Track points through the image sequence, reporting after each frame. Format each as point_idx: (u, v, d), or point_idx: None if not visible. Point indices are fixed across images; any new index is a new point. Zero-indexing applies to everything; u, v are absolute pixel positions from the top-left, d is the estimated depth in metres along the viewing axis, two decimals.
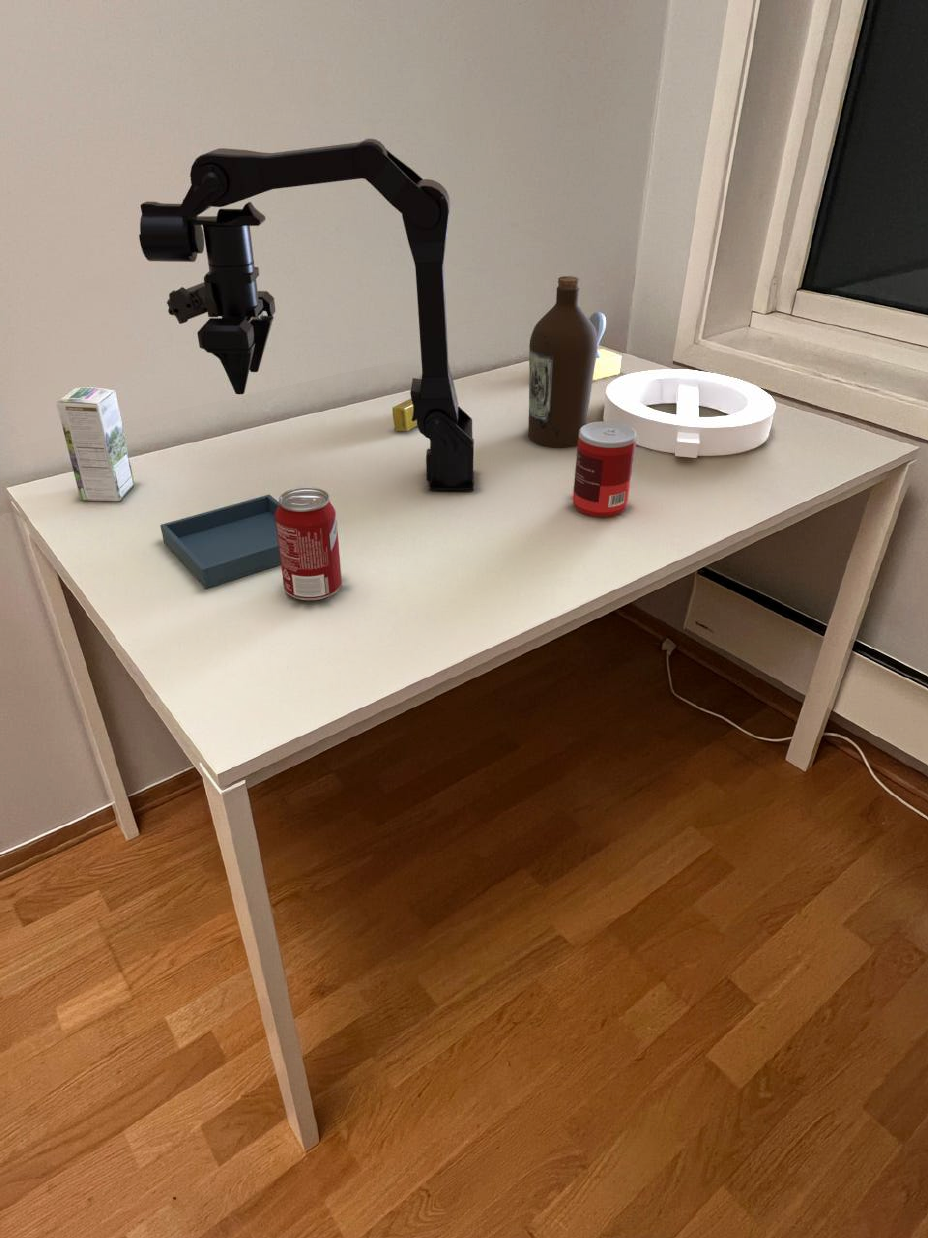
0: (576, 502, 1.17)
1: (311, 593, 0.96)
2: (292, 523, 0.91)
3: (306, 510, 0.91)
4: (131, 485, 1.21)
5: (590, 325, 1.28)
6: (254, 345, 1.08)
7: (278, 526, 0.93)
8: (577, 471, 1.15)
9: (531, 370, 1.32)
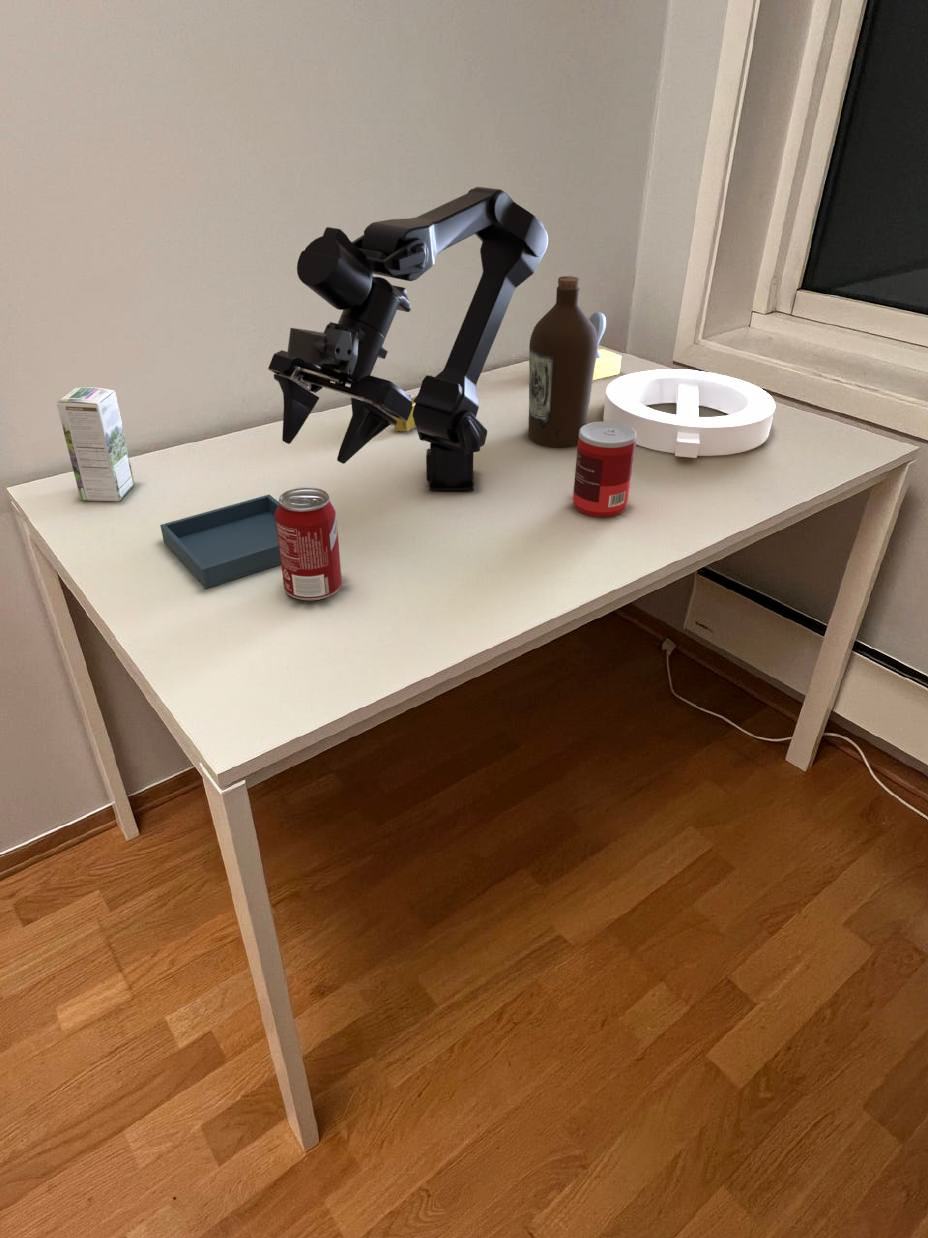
0: (576, 502, 1.17)
1: (311, 593, 0.96)
2: (292, 523, 0.91)
3: (306, 510, 0.91)
4: (131, 485, 1.21)
5: (590, 325, 1.28)
6: None
7: (278, 526, 0.93)
8: (577, 471, 1.15)
9: (531, 370, 1.32)
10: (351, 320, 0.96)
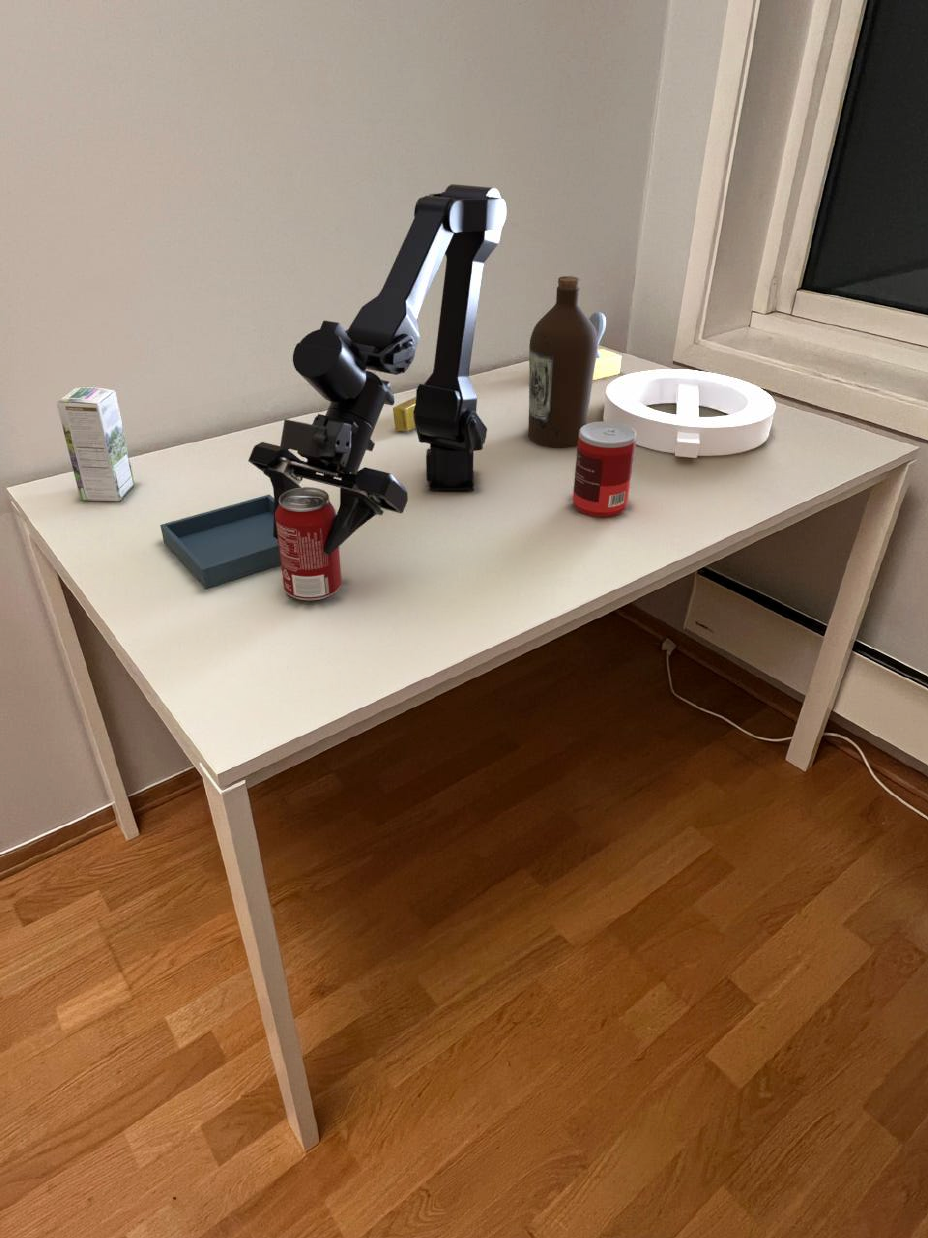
0: (576, 502, 1.17)
1: (311, 593, 0.96)
2: (291, 524, 0.91)
3: (306, 510, 0.91)
4: (131, 485, 1.21)
5: (590, 325, 1.28)
6: None
7: (278, 526, 0.93)
8: (577, 471, 1.15)
9: (531, 370, 1.32)
10: (342, 412, 0.94)
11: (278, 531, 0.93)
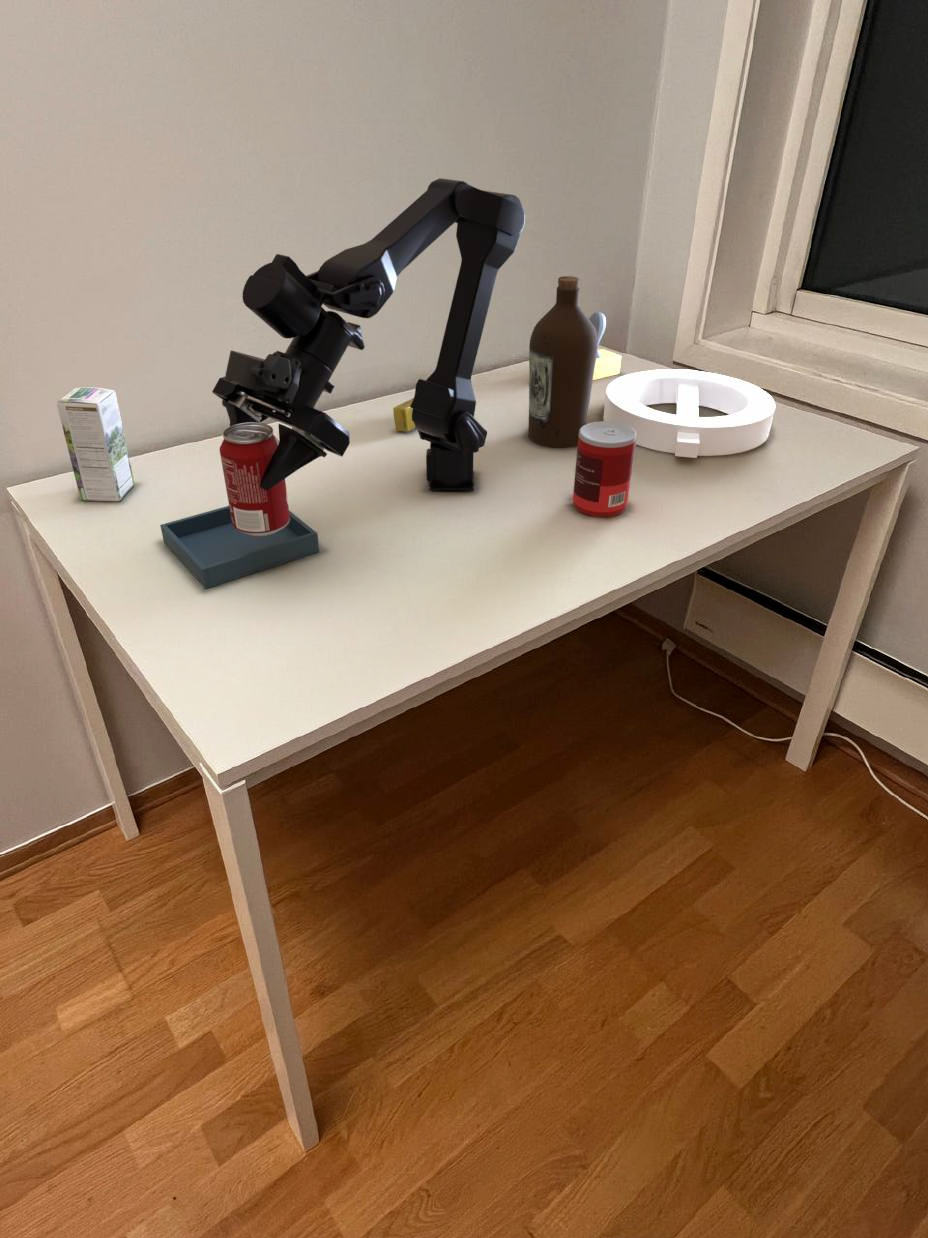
0: (576, 502, 1.17)
1: (250, 528, 0.97)
2: (229, 455, 0.92)
3: (243, 442, 0.92)
4: (131, 485, 1.21)
5: (590, 325, 1.28)
6: None
7: None
8: (577, 471, 1.15)
9: (531, 370, 1.32)
10: (297, 350, 0.94)
11: None
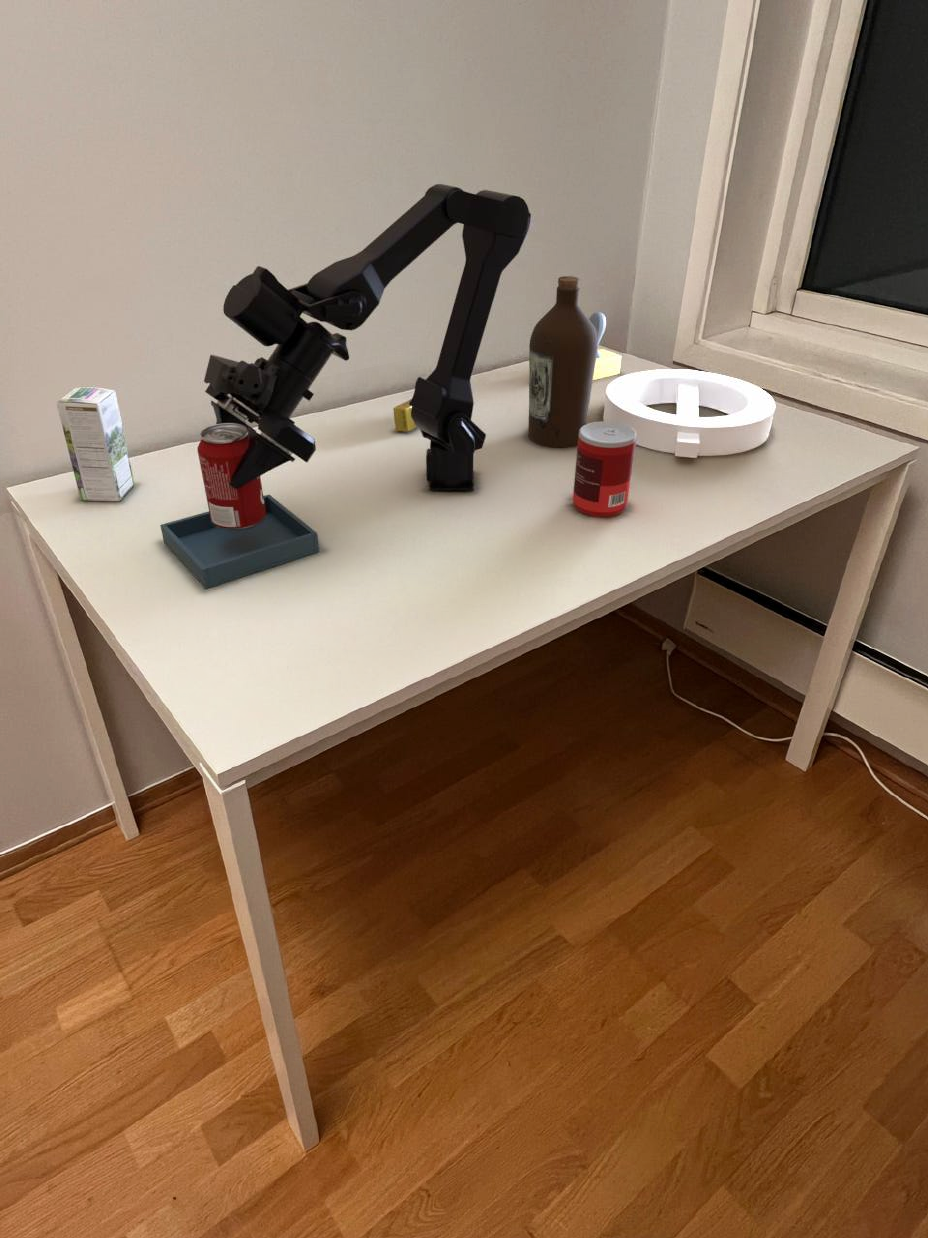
0: (576, 502, 1.17)
1: (222, 523, 1.02)
2: (202, 452, 0.98)
3: (214, 442, 0.97)
4: (131, 485, 1.21)
5: (590, 325, 1.28)
6: None
7: None
8: (577, 471, 1.15)
9: (531, 370, 1.32)
10: (276, 358, 0.98)
11: None
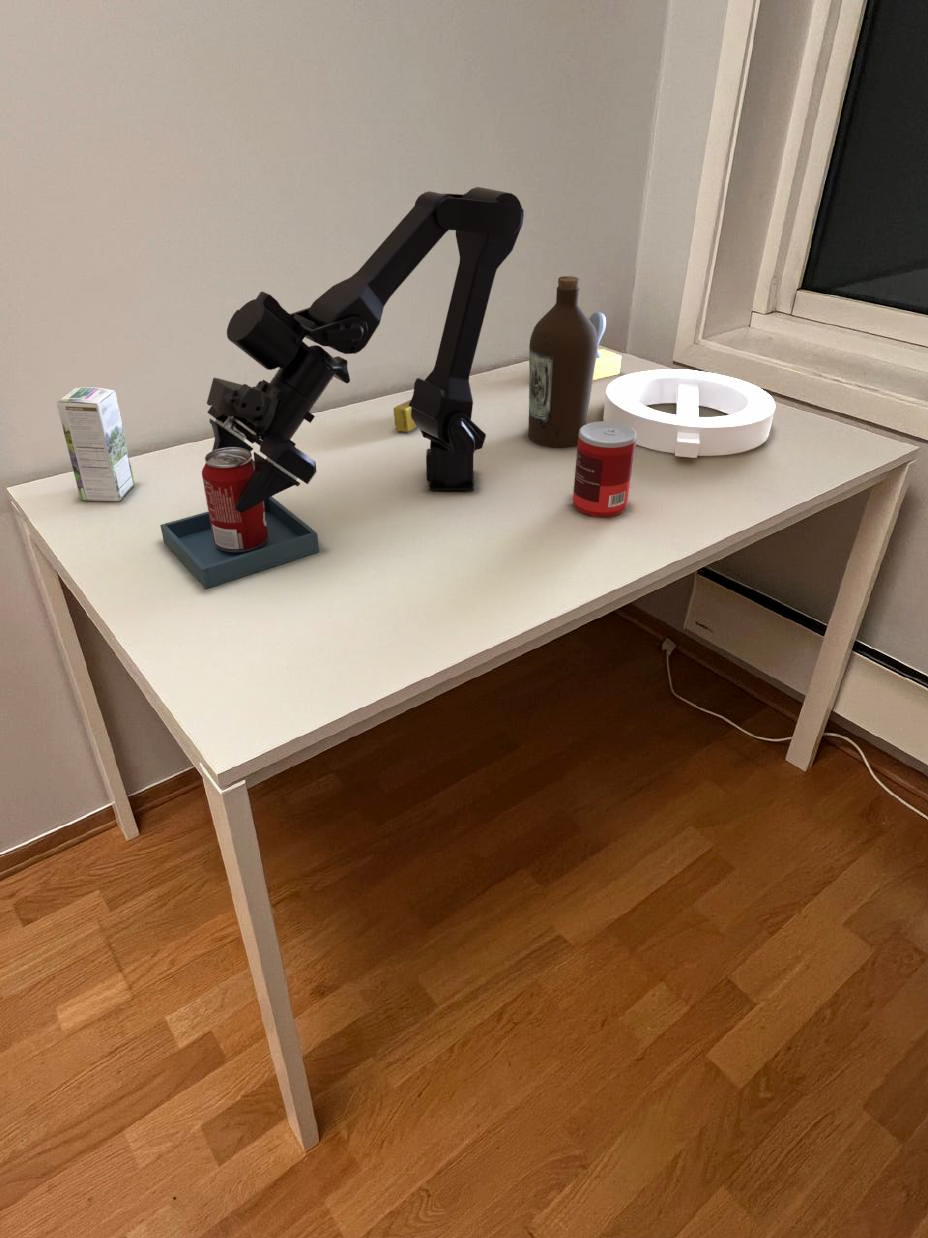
0: (576, 502, 1.17)
1: (225, 545, 1.04)
2: (207, 476, 1.00)
3: (219, 466, 0.99)
4: (131, 485, 1.21)
5: (590, 325, 1.28)
6: None
7: None
8: (577, 471, 1.15)
9: (531, 370, 1.32)
10: (278, 381, 0.99)
11: None
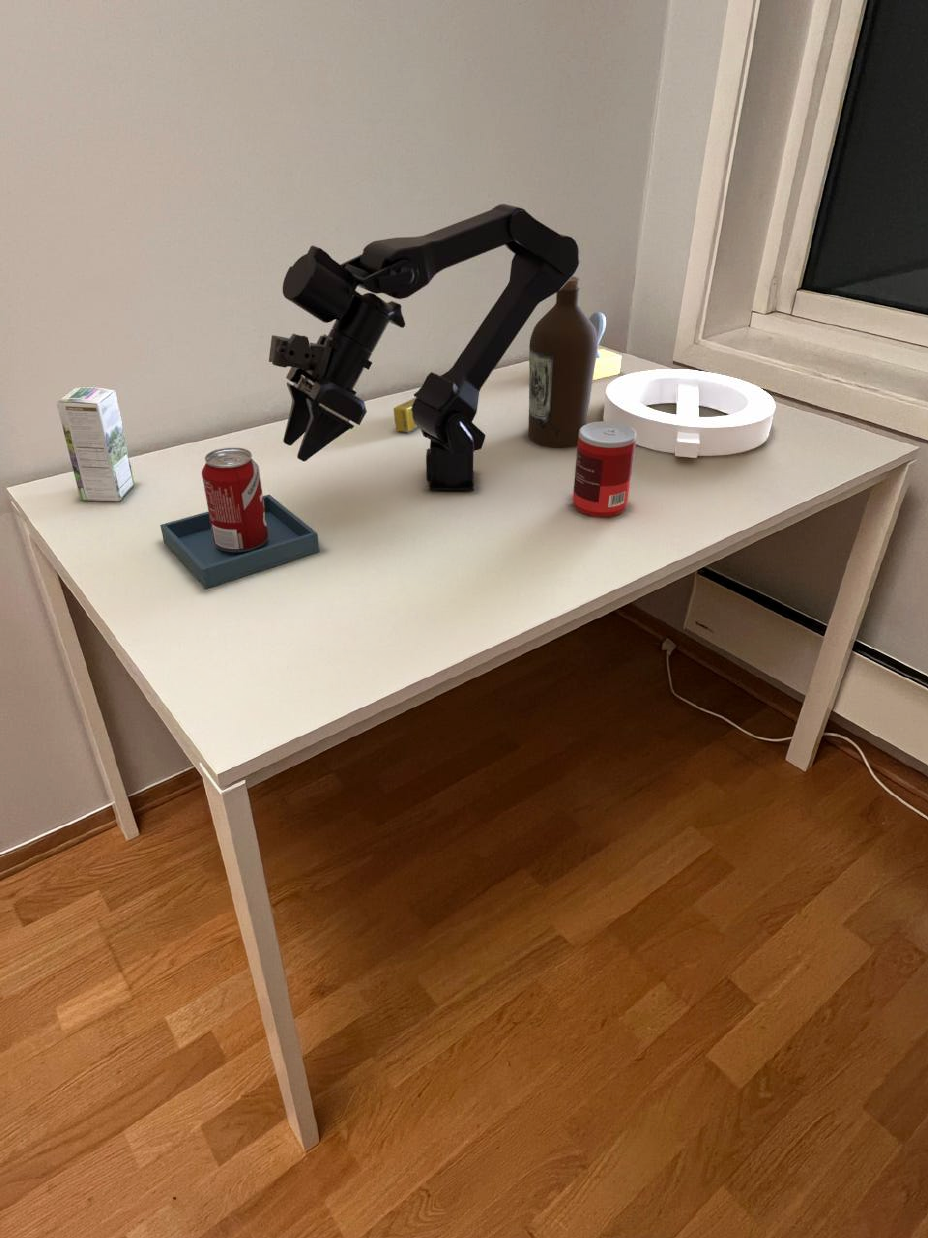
0: (576, 502, 1.17)
1: (225, 545, 1.04)
2: (207, 476, 1.00)
3: (219, 466, 0.99)
4: (131, 485, 1.21)
5: (590, 325, 1.28)
6: None
7: None
8: (577, 471, 1.15)
9: (531, 370, 1.32)
10: (332, 331, 1.02)
11: None
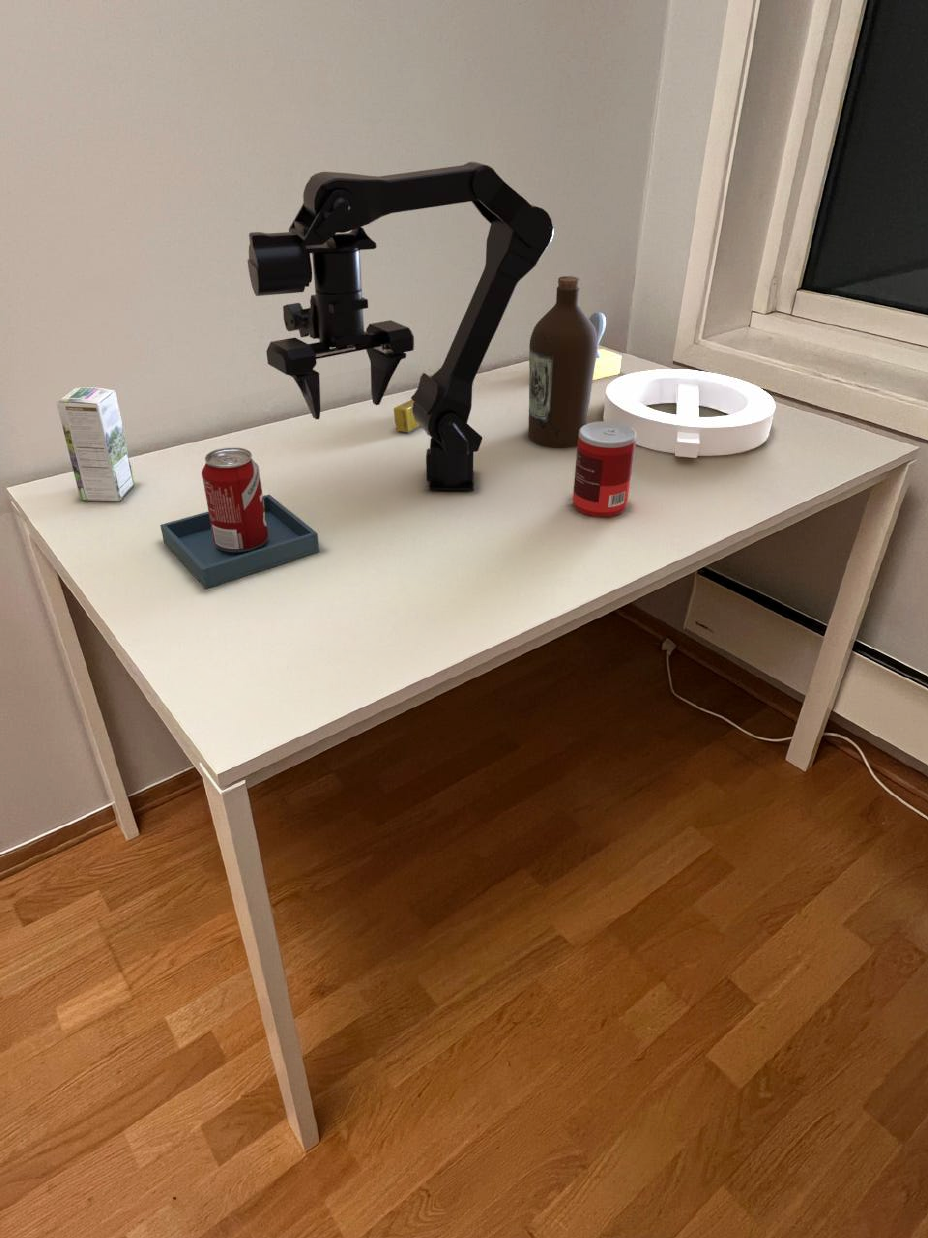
0: (576, 502, 1.17)
1: (225, 545, 1.04)
2: (207, 476, 1.00)
3: (219, 467, 0.99)
4: (131, 485, 1.21)
5: (590, 325, 1.28)
6: (317, 375, 1.04)
7: None
8: (577, 471, 1.15)
9: (531, 370, 1.32)
10: None
11: None
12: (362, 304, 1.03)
